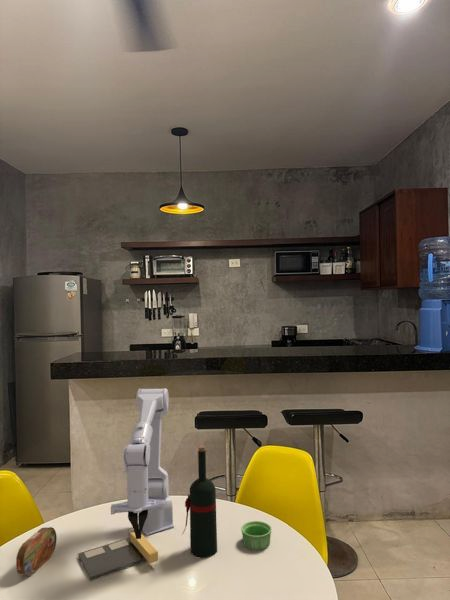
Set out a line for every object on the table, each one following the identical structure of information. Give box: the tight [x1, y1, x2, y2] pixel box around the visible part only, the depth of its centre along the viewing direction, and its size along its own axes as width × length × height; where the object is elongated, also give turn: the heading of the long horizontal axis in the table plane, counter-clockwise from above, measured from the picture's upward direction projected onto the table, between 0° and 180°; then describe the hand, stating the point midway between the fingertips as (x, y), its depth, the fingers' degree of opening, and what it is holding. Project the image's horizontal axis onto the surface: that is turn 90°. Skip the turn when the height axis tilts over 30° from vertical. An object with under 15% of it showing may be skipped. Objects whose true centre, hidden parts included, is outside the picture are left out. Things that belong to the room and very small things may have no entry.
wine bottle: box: [181, 445, 218, 559], centre depth 127 cm, size 8×10×30 cm
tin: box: [15, 526, 58, 577], centre depth 122 cm, size 15×3×8 cm, turn 168°
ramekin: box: [240, 520, 272, 551], centre depth 131 cm, size 9×9×4 cm
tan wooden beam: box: [127, 527, 159, 565], centre depth 126 cm, size 16×3×2 cm, turn 33°
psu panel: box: [77, 537, 148, 582], centre depth 124 cm, size 17×13×2 cm
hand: (138, 537), depth 121 cm, fingers closed
